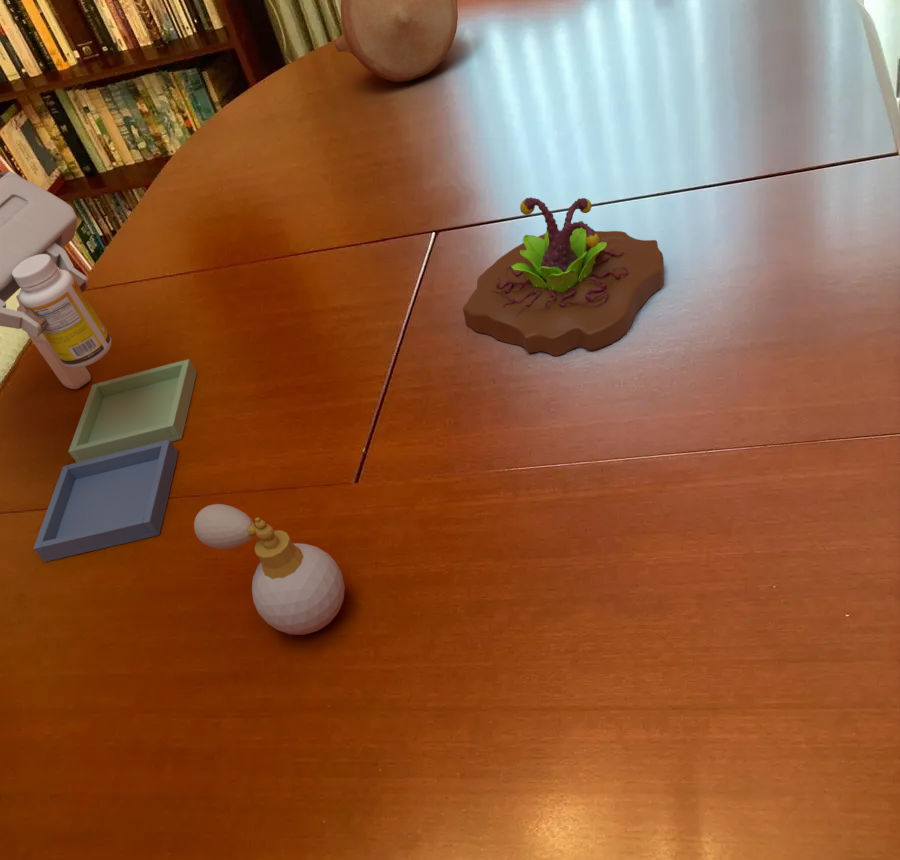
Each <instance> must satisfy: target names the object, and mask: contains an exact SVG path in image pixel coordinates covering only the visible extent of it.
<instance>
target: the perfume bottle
mask: <svg viewBox="0 0 900 860" xmlns="http://www.w3.org/2000/svg"><path fill="white" fill-rule="evenodd" d="M254 521H255V522H254ZM254 521H253V520H252V518H250V517H249V515H248V514H247V513H245V512H244V511H242V510H240V509H238V508H236V507H235V506H232V505H228V504H224V503H214V504H209V505H206V506H205V507H203V508H201V509H200V510H199V512H198V513H197V514H196V517H195V518H194V522H193V529H194V534H195V536H196V537H197V539H198V541H200V542H201V543H202V544H203V545H205V546H207V547H209V548H212V549H215V550H216V549H217V550H228V549H235V548H237V547H241V546H243V545H244V544H247V543H248V542H250V541H251V540H252V539H253V538H254V536H255V535H256V537H257V538H259V539H258V540H257V541H256V542H255V545H254V548H253V549H254V552H255V555H256V556H257V558H258V560H259V561H260V562H259V563H258V564H257V567H256V569H255V571H254V574H253V576H252V583H251V595H252V596H251V597H252V603H253V604H254V606H255V608H256V611H257V613H258V615H259V616H260V617H261V618H262V619H263V621H264V622H266V624H267V625H268V626H271V627H272V628H274V629H275V630H277V631H278V632H282V633H285V634H287V635H290V636H291V635H296V636H297V635H298V636H305V635H307V634H308V635H309V634H311V633H312V634H313V633H316V632H319V631H320V630H322V629H323V628H324V627H326V626H328V625H329V624H330V623H331V622H332V621H333V620H334V618H336V616H337V615H338V613H339V612H340V609H341V608H342V605H343V603H344V599H345V591H346V590H345V589H346V587H345V581H344V578H343V577H344V576H343V573H342V571H341V569H340V567H339V565H338V563H337V562H336V561H335V560H334V559H333V557H332V556H331V555H330V554H329V553H328V552H326V551H324V550H323V549H321V548H319V547H318V546H316V545H311V544H308V543H300V542H299V543H295V542H293V541H292V539H291V537H290V535H289V534H288V532H286V531H284V530H281V529H278V530H277V529H276V530H274V527H273V526H271V525H270V524H267V523H266V521H265V520H264V519H261V518H260V517H259V516H258V517H255V519H254Z"/></svg>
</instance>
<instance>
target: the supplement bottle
mask: <svg viewBox="0 0 900 860" xmlns="http://www.w3.org/2000/svg"><path fill="white" fill-rule="evenodd" d="M12 275H13V277H14V279H15V280H16V282H17V284H18V286H20V289H19V292H18V295H19V300H20V302H21V303H22V305H23V307H24V308H25V309H26V311H27V312H28V311H29V310H30V309H32V310H34V311H35V312H37V313H38V315H41V316H43V317H44V318H45V319H46V320H47V325H46V326H47V328H46V329H45V330H44V331H43V332H42V334H43V335H44V337H45V338H46V339H47V341H48V342H49V344H50V345H51V347H52V348H53V350H54V351H55V352H56V354H57V355H58V357H59V358H60V360H61V361H62V362H63V363H64V364H65V365H66V366H68V367H72V368H80V367H84V366H85V367H87V366H90V365H92V364H95V363H96V362H99V360H101V359H102V358H103V357H104V356H106V355H107V353H109V351H110V349H111V347H112V342H113V341H112V338H111V335H110V334H109V332H108V330H107V329H106V327H105V325H104V323H103V322H102V321H101V319H100V317H99V316H98V314H97V313H96V311H95V309H94V308H93V306H92V304H91V303H90V302H89V300H88V299H87V297H86V296H85V294H84V291H83V292H82V291H81V289H80V288H79V286H78V284H77V283H76V281H75V279H74V278H73V276H72V275H71V274H70V273H69V272H68V271H66V270H62V269H59V268H58V267H57V265H56V264H55V263H54V262H53V260H52V259H51V257H50V256H49V255H47V254H39V255H35V256H32V257H30V258H28V259H26V260H24V261H22V262H21V263H20V264H19V265H18V266H16V267H15V268H14V269H13V271H12Z"/></svg>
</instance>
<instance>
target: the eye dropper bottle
mask: <svg viewBox="0 0 900 860" xmlns="http://www.w3.org/2000/svg"><path fill="white" fill-rule="evenodd" d="M15 298H16V300H17V302H18V304H19V305H18V307H17V308H16V311H20V312H24V313H27V311H26V309H25V308H24V307H23V305H22V303H21V302H20V300H19V294H17V295H16V296H15ZM26 333H27V332H26ZM27 336H28V337H29V339H30V340H31V342H32V343H33V345H34V346H35V348H36V349H37V350H38V352H39V353H40V355H41V356H42V357H43V359H44V360H45V362H46V363H47V365H48V366H49V368H50V369H51V370H52V371H53V373H54V375H55V376H56V377H57V380H59V381H60V383H61V384H62V385H63V386H64V387H65V388H67V389H71V390H79V389H81V388H83V386H85V385H86V384H88V383H89V382H90V381H91V380H92V376H91V374H90V371H89V370H88V369H87V366H84V367H80V368H72V367H68V366H66V365H65V364H64V363H63V362H62V361H61V360H60V358H59V357H58V355H57V354H56V352H55V351H54V350H53V348H52V347H51V345H50V344H49V342H48V341H47V339H46V338H45V337H44V335H43V334H42V333H41V334H40V335H39V336H38V337H37V338H35V337H33V336H31V335H30V334H28V333H27Z"/></svg>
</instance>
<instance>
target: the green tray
mask: <svg viewBox="0 0 900 860" xmlns="http://www.w3.org/2000/svg"><path fill="white" fill-rule="evenodd" d="M197 374H198V372H197V370H196V368H195V367H194V364H193V363H192V361H191V360H190V358H188V359H184V360H179V361H175V362H172V363H168V364H165V365H161V366H156V367H153V368H150V369H145V370H143V371H138V372H134V373H131V374H127V375H123V376H119V377H115V378H112V379H109V380H105V381H101V382H97V383H93V384H91V387H90V391H89V393H88V395H87V398H86V402H85V404H84V407H83V410H82V413H81V415H80V418H79V421H78V423H77V426H76V429H75V432H74V434H73V438H72V440H71V443H70V445H69V448H68V453H69V455H70V457H71V458H72V459H73V460H74V462H75V463H78V462H82V461H86V460H90V459H94V458H98V457H102V456H106V455H110V454H114V453H118V452H122V451H126V450H130V449H134V448H138V447H142V446H146V445H150V444H154V443H158V442H162V441H166V440H170V441H171V443H172V442H175V441H179V440H182V438H183V435H184V431H185V426H186V421H187V416H188V414H189V413H188V412H189V409H190V404H191V400H192V396H193V391H194V387H195V382H196V378H197Z"/></svg>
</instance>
